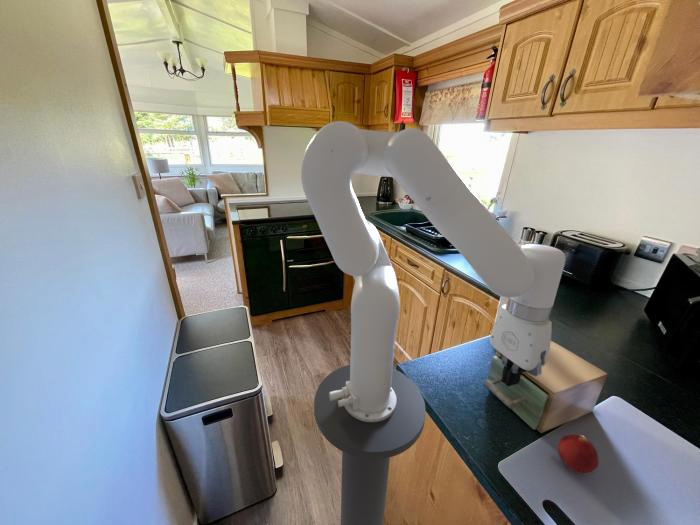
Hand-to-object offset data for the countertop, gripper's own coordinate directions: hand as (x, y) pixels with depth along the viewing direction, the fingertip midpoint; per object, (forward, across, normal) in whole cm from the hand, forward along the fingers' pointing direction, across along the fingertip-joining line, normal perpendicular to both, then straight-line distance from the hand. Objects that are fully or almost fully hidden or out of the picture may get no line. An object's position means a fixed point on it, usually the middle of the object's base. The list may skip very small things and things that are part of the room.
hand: (509, 382), depth 63 cm
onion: (+9, +14, +2) cm, 17 cm away
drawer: (+8, 0, +7) cm, 10 cm away
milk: (+9, -25, +28) cm, 39 cm away
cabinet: (+9, 0, +12) cm, 15 cm away
